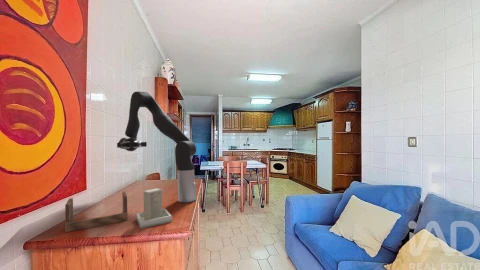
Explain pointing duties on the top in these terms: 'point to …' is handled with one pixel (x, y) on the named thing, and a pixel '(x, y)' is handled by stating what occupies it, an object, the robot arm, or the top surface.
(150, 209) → the skincare box
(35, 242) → the top surface
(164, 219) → the dish
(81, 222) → the two-post stand
